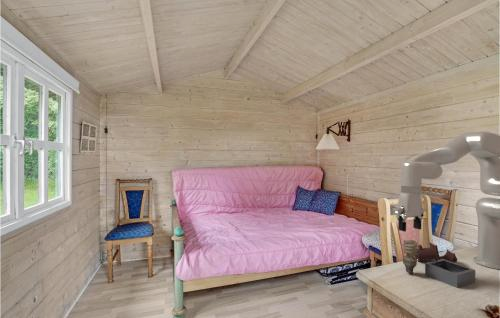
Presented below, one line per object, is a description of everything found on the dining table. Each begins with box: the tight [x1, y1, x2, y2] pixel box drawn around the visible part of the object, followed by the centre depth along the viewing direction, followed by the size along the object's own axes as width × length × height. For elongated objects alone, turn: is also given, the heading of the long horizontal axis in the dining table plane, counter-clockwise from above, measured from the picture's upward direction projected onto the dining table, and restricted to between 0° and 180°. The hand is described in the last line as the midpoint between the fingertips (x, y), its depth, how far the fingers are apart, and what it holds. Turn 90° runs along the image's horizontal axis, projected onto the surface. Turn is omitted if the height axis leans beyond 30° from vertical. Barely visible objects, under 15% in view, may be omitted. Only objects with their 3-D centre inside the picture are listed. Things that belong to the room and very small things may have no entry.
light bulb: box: [402, 239, 419, 275], centre depth 114 cm, size 6×6×15 cm
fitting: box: [424, 259, 476, 289], centre depth 110 cm, size 12×12×5 cm
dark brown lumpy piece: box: [414, 240, 458, 263], centre depth 126 cm, size 6×17×10 cm, turn 78°
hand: (409, 229), depth 113 cm, fingers open, 9 cm apart
